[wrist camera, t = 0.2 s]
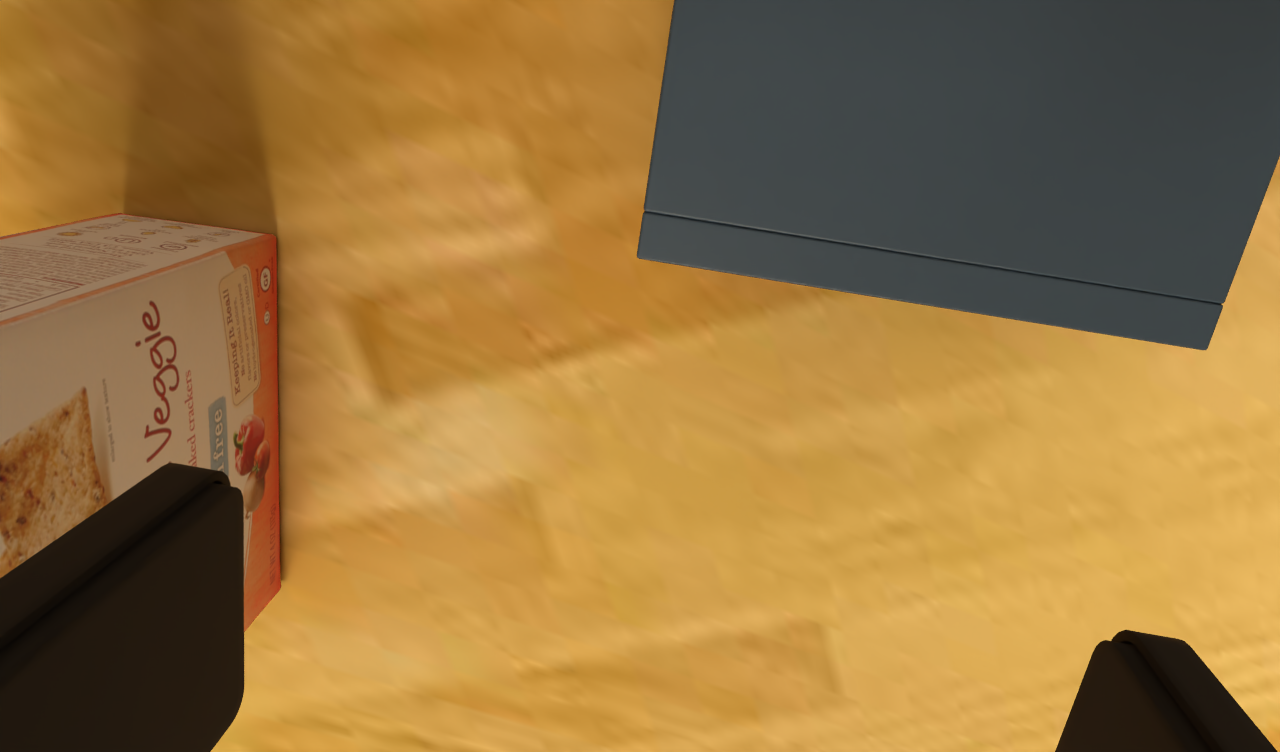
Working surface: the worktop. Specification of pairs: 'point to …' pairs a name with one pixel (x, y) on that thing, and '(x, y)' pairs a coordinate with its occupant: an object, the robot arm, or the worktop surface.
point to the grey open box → (973, 153)
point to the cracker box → (137, 375)
